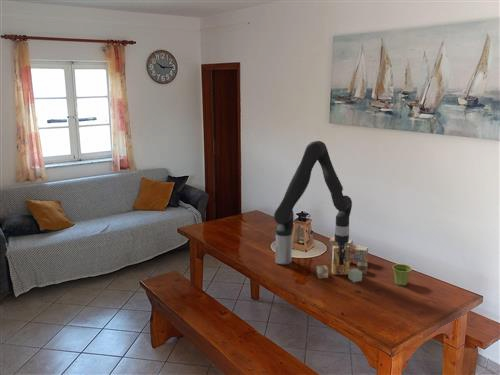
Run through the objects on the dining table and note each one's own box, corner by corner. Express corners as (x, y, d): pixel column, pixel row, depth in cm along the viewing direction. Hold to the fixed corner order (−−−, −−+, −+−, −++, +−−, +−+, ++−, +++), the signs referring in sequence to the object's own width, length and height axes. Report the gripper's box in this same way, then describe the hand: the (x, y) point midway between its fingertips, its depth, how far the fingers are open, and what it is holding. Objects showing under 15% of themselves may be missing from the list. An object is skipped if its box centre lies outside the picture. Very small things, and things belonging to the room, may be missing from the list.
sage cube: (353, 282, 232) (354, 273, 231) (348, 278, 237) (348, 269, 236) (361, 280, 234) (362, 271, 233) (356, 276, 239) (356, 268, 237)
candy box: (347, 271, 245) (348, 245, 241) (349, 274, 241) (350, 248, 237) (331, 271, 245) (332, 245, 241) (332, 275, 241) (334, 248, 237)
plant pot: (401, 288, 225) (402, 273, 222) (387, 281, 233) (388, 266, 231) (414, 284, 229) (415, 269, 227) (400, 277, 237) (401, 262, 235)
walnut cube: (356, 273, 242) (357, 265, 241) (357, 270, 247) (358, 261, 246) (366, 275, 241) (366, 266, 239) (366, 271, 245) (367, 262, 244)
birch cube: (318, 278, 237) (319, 269, 236) (316, 274, 242) (316, 265, 241) (328, 277, 238) (328, 269, 236) (325, 273, 242) (325, 265, 241)
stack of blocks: (367, 262, 258) (368, 242, 255) (364, 266, 252) (366, 245, 249) (331, 255, 267) (332, 236, 264) (328, 259, 262) (329, 239, 259)
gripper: (333, 228, 244) (332, 257, 249) (336, 237, 231) (335, 267, 235) (347, 228, 244) (345, 257, 248) (350, 237, 230) (349, 268, 234)
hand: (340, 262), depth 241 cm, fingers closed on candy box, 4 cm apart
